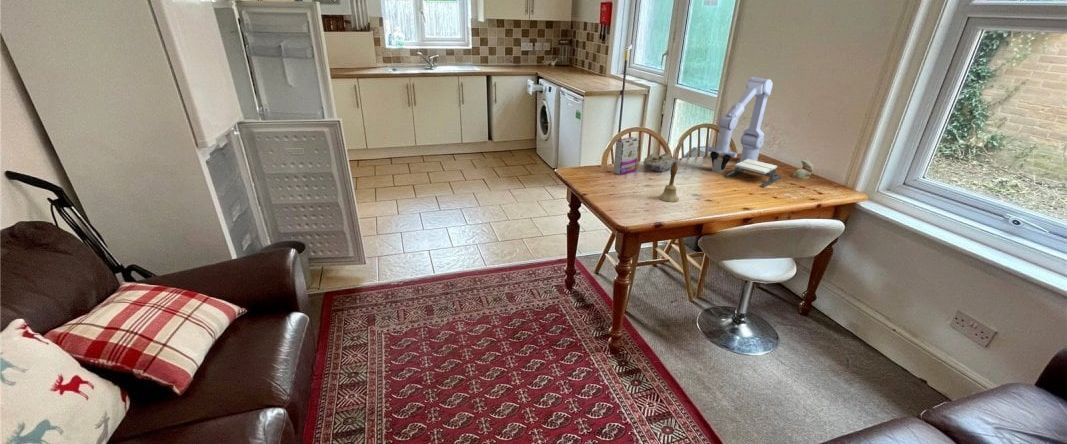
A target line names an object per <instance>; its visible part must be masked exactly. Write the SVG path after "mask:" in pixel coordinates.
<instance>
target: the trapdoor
mask: <svg viewBox="0 0 1067 444" xmlns="http://www.w3.org/2000/svg"><path fill="white" fill-rule="evenodd" d="M734 167H739V169H740V168H743V169H747V170H751V171H755V172H758V173H762V174H766V173H768V172H769V173H771V172H772V170H773V169H777V168H778V165H775V164H771V163H767V162H762V161H759V160H757V161H755V160H751V159H747V160H744V161H742V162H740V163H737V164H736V163H735V164H734ZM747 170H746V171H747ZM758 173H757V174H758ZM762 174H761V175H762Z"/></svg>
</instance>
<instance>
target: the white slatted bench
mask: <svg viewBox="0 0 1067 444" xmlns="http://www.w3.org/2000/svg"><path fill="white" fill-rule="evenodd" d="M740 162H741V161H740V159H739V160H736V163H735V164H737V163H740ZM734 167H735V166H734ZM744 171H746V172H749V173H750V172H751V173H755V174H758V175H763V176H767V177H769V179H768V180H767V181H765V182H762V183H761V186H760V187H761V188H763V189H764V188H766V187H768V186H770V185H771V184H773V183H775V182H777V181H779V180H781V178H782V175H781V174H776V173H777V168H775V169H773V170H772V171H770V172H768V173H766V174H762V173H758V172H755V171H751V170H747V169H743V168H739V167H735V168H734V170H733V171H731V172H729V173H726V175H725V176H726V177H725V178H727V179H729V178H731V177H733V176H735V175H738V174H740V173H743V172H744Z"/></svg>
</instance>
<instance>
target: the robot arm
mask: <svg viewBox="0 0 1067 444" xmlns="http://www.w3.org/2000/svg"><path fill="white" fill-rule="evenodd" d="M773 83H774V82H773V81H772V79H770V78H768V79H766V78H762V77H761V78H760V77H755V76H751V77H750V78H749V79H748V80H747V83H746V85H745V91H744V92H743V94H742V96H741V97H740V98H739V100H738V101H737V102H736V103H734V104H733V105H732V106H731V108H729V110H728V111H727V113H726V114H725V115H723V116H721V117H720V119H719V121H718V131H719V132H718V137H717V141H716V142H717V143H716V146H715V147H714V146H707V147H706V152H710V153H709V155H710V158H711V167H712V168H713V163H714V159H717V158H719V155H723V156H722V159H723V161H722V167H721V170H723V169H724V170H725V168H726V166H727V164H728V162H729V161H730V160H731V159H732V158H737V156H738V152H735V151H731V150H729V149H730V145H731V139H732V135H733V131H734V130H735V128H736V127H737V125H738V122H739V118H741V116H742V114H743V113H744V112H745V110H746V108H745V107H746V105H747V104H748V103H749V102H750V101H751V100H752V99H753V98H754V96H755V101H754V106H753V110H752V114H751V118H750V122H749V127H748V128H747V129H745V130H743V133H742V135H741V137H740V144H741V147H742V150H741V153H740V158H739V160H740V161H741V162H742V161H744V160H747V159H751V160H755V161H759V160H758V159H759V154H760V148H762V147H763V145H764V142H765V133H764V132H763V130H761V126H762V124H763V118H764V114H765V110H766V106H767V101H768V99H769V98H768V97H769V96H771V93H772V90H773V89H772V88H773V85H774V84H773Z"/></svg>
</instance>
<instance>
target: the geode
mask: <svg viewBox="0 0 1067 444" xmlns="http://www.w3.org/2000/svg"><path fill="white" fill-rule="evenodd" d="M674 162H678V159H675V158H673V156H672V155H671V154H670V153H663V154H661V155H655V153H651V154H649V155H648V156H647V157H645V158H644V159H643V163H642V164H643V165H644V167H645V168H646V169H647V170H648V171H649V170H651V171H652V170H653V171H655V172H660V173H663V172H665V171H671V167H672V165H673V163H674Z"/></svg>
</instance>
